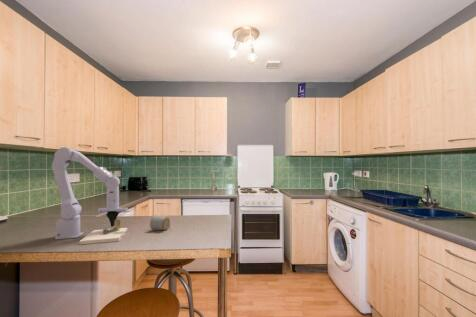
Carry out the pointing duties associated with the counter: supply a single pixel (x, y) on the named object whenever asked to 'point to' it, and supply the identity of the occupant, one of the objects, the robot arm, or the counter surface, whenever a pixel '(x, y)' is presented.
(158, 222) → the grey cylinder
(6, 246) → the counter surface
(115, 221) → the wooden handled crank
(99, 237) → the board
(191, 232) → the counter surface
